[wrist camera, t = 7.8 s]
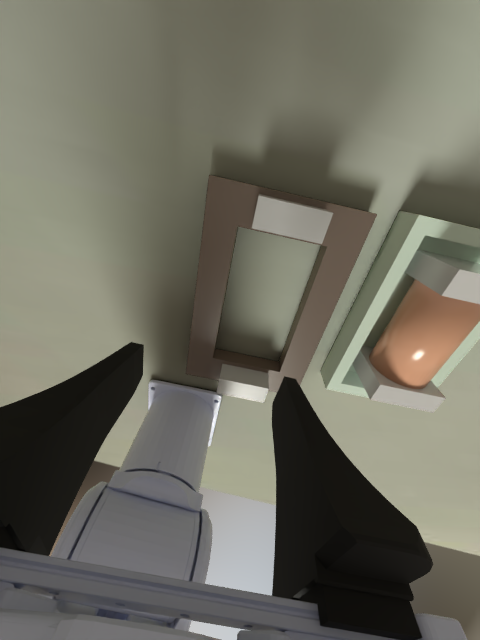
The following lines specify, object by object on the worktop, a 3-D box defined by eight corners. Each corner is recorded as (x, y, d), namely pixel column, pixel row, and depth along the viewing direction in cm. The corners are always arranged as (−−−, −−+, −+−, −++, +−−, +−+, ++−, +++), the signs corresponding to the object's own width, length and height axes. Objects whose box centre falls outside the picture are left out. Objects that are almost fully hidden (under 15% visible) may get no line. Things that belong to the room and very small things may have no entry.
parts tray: (406, 389, 25) (419, 408, 22) (320, 371, 24) (326, 388, 22) (521, 239, 17) (558, 247, 15) (399, 210, 17) (419, 214, 15)
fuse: (400, 368, 23) (432, 412, 19) (349, 358, 23) (370, 399, 18) (475, 262, 18) (545, 289, 13) (410, 247, 17) (459, 269, 13)
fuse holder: (293, 385, 25) (297, 412, 22) (189, 363, 25) (179, 389, 22) (368, 211, 17) (391, 218, 14) (213, 175, 17) (202, 174, 13)
